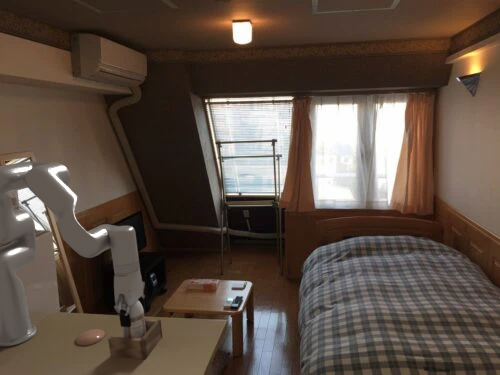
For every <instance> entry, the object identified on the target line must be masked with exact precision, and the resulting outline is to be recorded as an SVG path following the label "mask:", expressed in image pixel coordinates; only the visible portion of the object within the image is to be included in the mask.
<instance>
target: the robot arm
mask: <svg viewBox="0 0 500 375" xmlns="http://www.w3.org/2000/svg"><path fill="white" fill-rule="evenodd" d="M71 177H72V176H71V173H70V170H69V169H68V168H67V166H65V165H64V164H62V163H60V162H54V161H53V162H51V161H49V162H48V161H23V162H21V161H20V162H17V163H16V162H15V163H10V164H4V165H0V347H12V346H17V345H20V344H22V343H24V342H26V341H28V340H30V339H32V338H33V337H34V336H35V335H36V333H37V332H38V331H37V330H38V329H37V327H36V325H34V324H32V323H31V320H30V314H29V308H28V303H27V302H28V301H27V296H26V291H25V285H24V282H23V281H22V279H20V277H19V276H18V275H17V272H18V271H20V270H22V269H24V268H26V267H28V266H29V265H31V264H33V262H35V260H36V259H37V255H38V250H37V249H38V248H37V237H36V236H37V235H36V233H37V232H36V224H35V221H34V219H33V217H32V215H31V214H30V213H29V212H28V211H26V210H23V209H16V210H15V209H14V204H13V201H12V199H11V196H10V195H9V194H8V193H12V192H15V191H20V190H24V189H28V190H29V191H30V192H31V193H32V194H33V195H35V197H36V198H37V199H38V200H40V201H41V202H42V204H44V205H45V206H46V208H48V209H49V211H50V212H52V213H53V214H54V216H56V223H57V228H58V230H59V233H60V236H61V237H62V239H63V240H64V242H65V243H66V244H68V246H69V247H70V248H71V249H72V250H73V251H75V252H76V253H77V254H78V255H79V256H81V257H82V258H83V257H84V258H89V259H91V258H94V257H96V256H99V255H100V254H101V253H103V252H105V251H107V250H109V249H110V250H111V257H112V264H113V270H114V271H113V272H114V275H113V292H114V303H115V304H114V307H113V308H114V310H115V311H116V314H117V315H118V318H119V323H120V327H121V328H122V327H130V326H131V320H130V314H128V312H129V308H130V306H131V305H132V304H134V303H135V302H136V301H137V300H139V301H140V303H141V304H142V306H143V310H144V312H145V311H146V310H147V309H146V303H145V298H146V295H145V292H146V289H145V281H143V278H142V274H141V273H142V272H141V266H140V259H139V251H138V243H137V236H136V235H137V234H136V230H135V228H134V227H133V226H132V225H119V226H118V225H113V224H108V223H104V224H100V225H98V226H96V227H94V228H92V229H90V230H86V229H85V228H84V227H83V226H82V225H81V224H80V223H79V221H78V220H77V218H76V213H75V211H76V210H75V209H76V208H77V206H78V205H79V203H80V197H79V195H78V194H76V193H75V192H74V191H73V190H72V188H70V187H69V186H68V185H69V184H70V182H71ZM123 303H127V304H123ZM123 307H126V310H123Z"/></svg>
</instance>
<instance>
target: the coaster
mask: <svg viewBox="0 0 500 375" xmlns="http://www.w3.org/2000/svg"><path fill="white" fill-rule="evenodd" d="M105 335H106V332H105V331H104V330H103V329H100V328H99V329H98V328H93V329H89V330H86V331H84V332H81V333H79V334H78V335H77V337H76V338H75V341H76V342H75V343H76V344H77V345H79V346H91V345H95V344H97V343H99V342H101V341H103V339H104V338H105V337H106V336H105Z"/></svg>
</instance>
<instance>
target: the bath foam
mask: <svg viewBox="0 0 500 375" xmlns="http://www.w3.org/2000/svg"><path fill="white" fill-rule="evenodd" d="M123 304H127V303H123ZM123 310H126V307H123ZM128 314H130V320H131V326H130V327H121V328H122V337H126V338H143V336H144V335H145V334H146V326H145V319H146V318H145V311H144V310H143V306H142V304H141V303H140V301H139V300H137V301H136V302H135V303H134V304H132V305H131V306H130V308H129V312H128Z"/></svg>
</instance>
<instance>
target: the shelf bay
mask: <svg viewBox="0 0 500 375" xmlns="http://www.w3.org/2000/svg"><path fill="white" fill-rule="evenodd" d="M145 326H146V334H145V335H144V336H143V338H126V337H123V336H109V337H108V339H107V340H108V346H109V347H108V348H109V354H110V357H112V358H126V359H140V360H146V359H147V358H148V357H149V355H150V354H151V353H152V351H153V350H154V348H156V347H157V345H158V344H159V342H160V341H161V339H162V338H163V328H162V320H161V319H153V318H152V319H151V318H145Z"/></svg>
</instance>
